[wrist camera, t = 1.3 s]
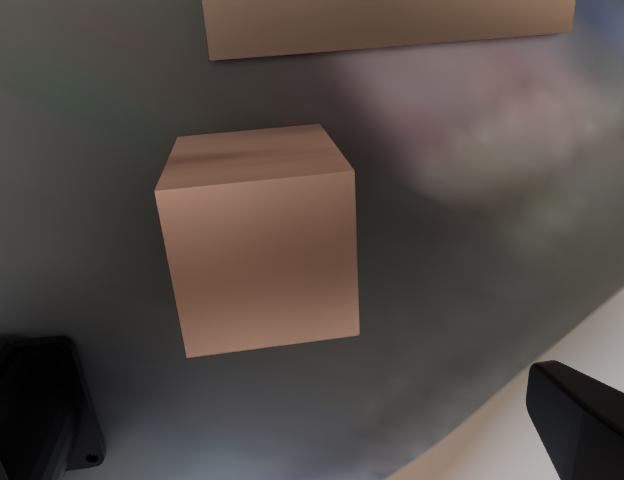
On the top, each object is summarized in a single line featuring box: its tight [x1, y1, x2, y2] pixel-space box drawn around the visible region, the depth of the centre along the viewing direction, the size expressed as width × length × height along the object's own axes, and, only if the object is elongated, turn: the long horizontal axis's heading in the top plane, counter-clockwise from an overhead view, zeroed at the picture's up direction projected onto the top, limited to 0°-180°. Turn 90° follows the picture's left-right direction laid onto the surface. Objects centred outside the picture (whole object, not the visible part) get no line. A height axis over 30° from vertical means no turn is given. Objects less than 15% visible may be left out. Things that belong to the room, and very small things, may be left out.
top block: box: [154, 124, 360, 358], centre depth 17 cm, size 5×5×6 cm
